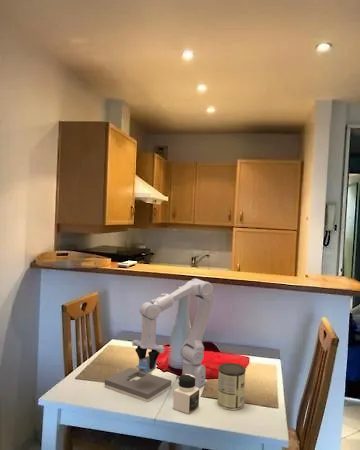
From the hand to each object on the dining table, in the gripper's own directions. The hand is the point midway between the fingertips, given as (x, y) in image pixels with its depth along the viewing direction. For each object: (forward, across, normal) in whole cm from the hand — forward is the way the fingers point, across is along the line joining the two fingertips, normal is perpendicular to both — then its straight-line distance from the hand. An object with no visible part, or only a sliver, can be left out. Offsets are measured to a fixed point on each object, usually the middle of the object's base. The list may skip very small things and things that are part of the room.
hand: (147, 366), depth 164 cm
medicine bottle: (+11, +19, -1) cm, 22 cm away
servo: (+1, 0, 0) cm, 1 cm away
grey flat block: (+10, -6, +2) cm, 12 cm away
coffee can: (+11, +31, +12) cm, 35 cm away
